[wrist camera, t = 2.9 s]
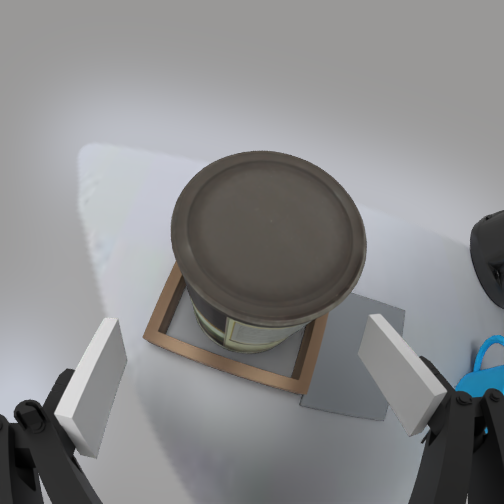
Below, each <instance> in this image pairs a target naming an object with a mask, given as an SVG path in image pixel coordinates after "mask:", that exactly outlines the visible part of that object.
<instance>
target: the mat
mask: <svg viewBox="0 0 504 504" xmlns="http://www.w3.org/2000/svg"><path fill="white" fill-rule="evenodd" d="M372 314H381V315H382V316H383V317H384V318H385V319H386V321H387V322H388V323H389V324H390V325H391V326H392V327H393V328H394V329H395V331H396V332H397V333H398V334H399V335H400V336H401V337H402V332H403V325H404V317H405V310H402V309H399V308H396V307H393V306H390V305H387V304H384V303H381V302H378V301H375V300H372V299H369V298H366V297H363V296H360V295H357V294H354V293H350V294H349V295H348V297H347V298H346V299H345V300H344V301H343V302H342V303H341V304H339V305H338V306H337V307H335V308H334V309H333V310H331V311H330V312H329V314H328V319H327V323H326V327H325V331H324V335H323V339H322V343H321V347H320V350H319V354H318V358H317V361H316V365H315V369H314V372H313V376H312V379H311V382H310V386H309V389H308V392H307V395H305V394H303V395H302V398H301V401H300V404H299V405H301V406H305V407H309V408H314V409H318V410H323V411H328V412H333V413H338V414H343V415H348V416H354V417H360V418H366V419H373V420H380V421H384V419H385V415H386V411H387V407H388V401H387V400H386V398H385V396H384V395H383V393H382V392H381V390H380V388H379V387H378V385H377V384H376V382H375V381H374V379H373V377H372V376H371V374H370V373H369V371H368V369H367V368H366V366H365V365H364V363H363V362H362V360H361V358H360V357H359V355H358V352H359V348H360V345H361V342H362V338H363V334H364V331H365V327H366V323H367V320H368V316H369V315H372Z"/></svg>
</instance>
